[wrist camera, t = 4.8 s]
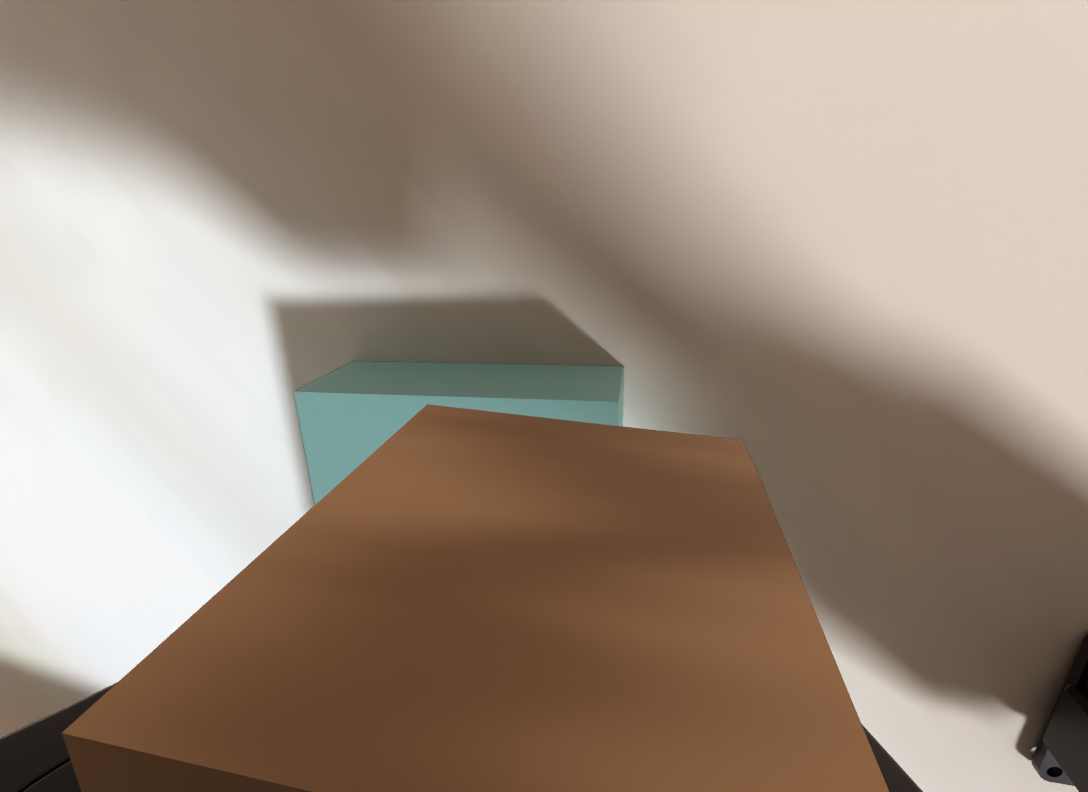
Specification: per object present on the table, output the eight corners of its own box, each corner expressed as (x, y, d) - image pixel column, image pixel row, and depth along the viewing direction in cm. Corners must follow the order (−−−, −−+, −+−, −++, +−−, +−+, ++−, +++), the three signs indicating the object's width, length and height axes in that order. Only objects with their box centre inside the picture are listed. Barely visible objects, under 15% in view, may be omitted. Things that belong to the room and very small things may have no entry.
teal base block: (624, 363, 19) (618, 401, 15) (620, 602, 22) (614, 681, 18) (357, 358, 21) (293, 391, 17) (389, 580, 24) (341, 648, 20)
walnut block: (743, 440, 8) (949, 941, 3) (695, 692, 10) (758, 1323, 4) (426, 403, 9) (61, 733, 3) (432, 644, 11) (195, 1129, 5)
